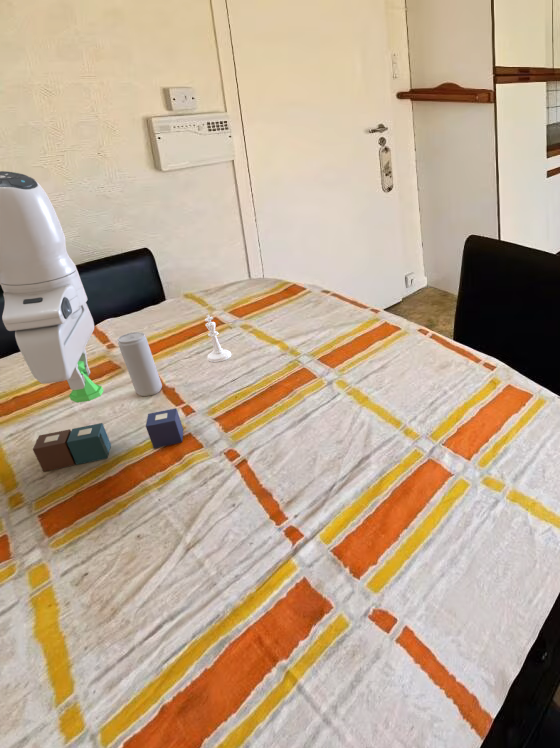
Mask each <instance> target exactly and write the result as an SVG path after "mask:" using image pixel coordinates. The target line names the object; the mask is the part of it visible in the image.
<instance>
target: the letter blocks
mask: <svg viewBox="0 0 560 748" xmlns="http://www.w3.org/2000/svg"><path fill="white" fill-rule="evenodd" d="M145 429H146V432H147V434H148V437H149V440H150V442H151V445H152V448H153V449H157V448H162V447H166V446H171V445H177V444H181V443H183V438H184V426H183V424H182V421H181V418H180V415H179V411H178V409H177V408H171V409H165V410H159V411H155V412H150V413H148V414H147V417H146V423H145ZM111 447H112V444H111V441H110V438H109V435H108V433H107V431H106V428H105V426H104V423H103V422H99V423H95V424H90V425H84V426H80V427H75V428H72V429H71V428H70V429H64V430H60V431H55V432H54V431H53V432H49V433H45V434H39V435H38V438H37V439H36V441H35V443H34V446H33V448H32V451H33V453H34V455H35V458H36V459H37V461H38V464H39V466H40V468H41V470H42V472H49V471H55V470H59V469H62V468H63V469H64V468H67V467H72V466H75V465H81V464H87V463H91V462H95V461H96V462H97V461H101V460H106V459H108V457H109V453H110V450H111Z"/></svg>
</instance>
